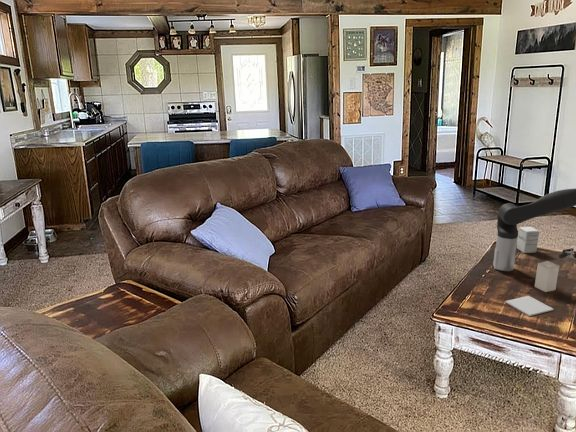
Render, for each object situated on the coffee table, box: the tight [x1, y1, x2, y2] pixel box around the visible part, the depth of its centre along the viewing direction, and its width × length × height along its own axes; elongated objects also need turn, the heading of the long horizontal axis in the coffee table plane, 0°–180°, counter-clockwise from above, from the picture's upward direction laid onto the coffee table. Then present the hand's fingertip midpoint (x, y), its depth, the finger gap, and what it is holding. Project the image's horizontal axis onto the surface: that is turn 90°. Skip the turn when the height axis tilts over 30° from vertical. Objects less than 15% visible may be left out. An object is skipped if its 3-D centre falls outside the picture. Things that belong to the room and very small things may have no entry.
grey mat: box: [504, 295, 554, 317], centre depth 198 cm, size 13×13×1 cm
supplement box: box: [516, 226, 540, 254], centre depth 255 cm, size 7×7×13 cm
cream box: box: [534, 260, 560, 293], centre depth 211 cm, size 6×6×12 cm
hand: (567, 259), depth 213 cm, fingers open, 8 cm apart
